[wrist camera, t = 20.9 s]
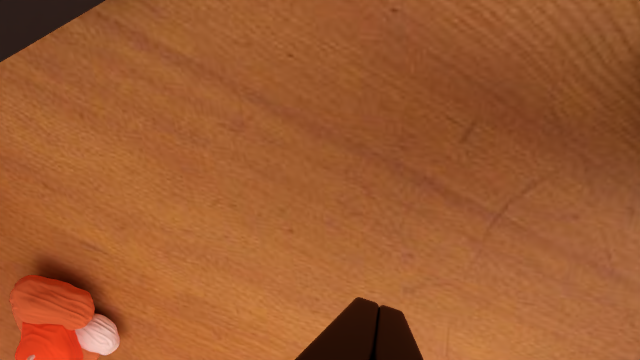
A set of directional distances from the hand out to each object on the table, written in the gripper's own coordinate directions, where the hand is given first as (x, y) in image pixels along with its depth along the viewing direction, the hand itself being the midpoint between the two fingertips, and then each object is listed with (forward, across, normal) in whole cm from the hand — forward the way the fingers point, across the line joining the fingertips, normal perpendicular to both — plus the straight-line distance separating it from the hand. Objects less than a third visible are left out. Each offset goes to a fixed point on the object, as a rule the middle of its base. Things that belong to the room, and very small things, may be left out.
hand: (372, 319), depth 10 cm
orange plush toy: (+12, -14, -19) cm, 27 cm away
